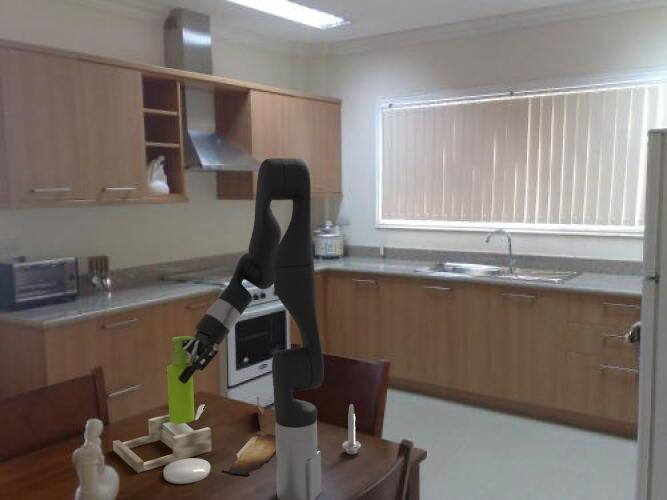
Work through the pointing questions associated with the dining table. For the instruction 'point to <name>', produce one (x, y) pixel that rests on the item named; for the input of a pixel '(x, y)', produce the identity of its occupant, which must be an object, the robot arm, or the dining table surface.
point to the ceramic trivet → (186, 470)
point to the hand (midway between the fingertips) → (175, 378)
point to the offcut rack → (173, 436)
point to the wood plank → (260, 412)
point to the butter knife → (199, 411)
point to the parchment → (254, 454)
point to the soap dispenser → (180, 385)
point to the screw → (351, 434)
